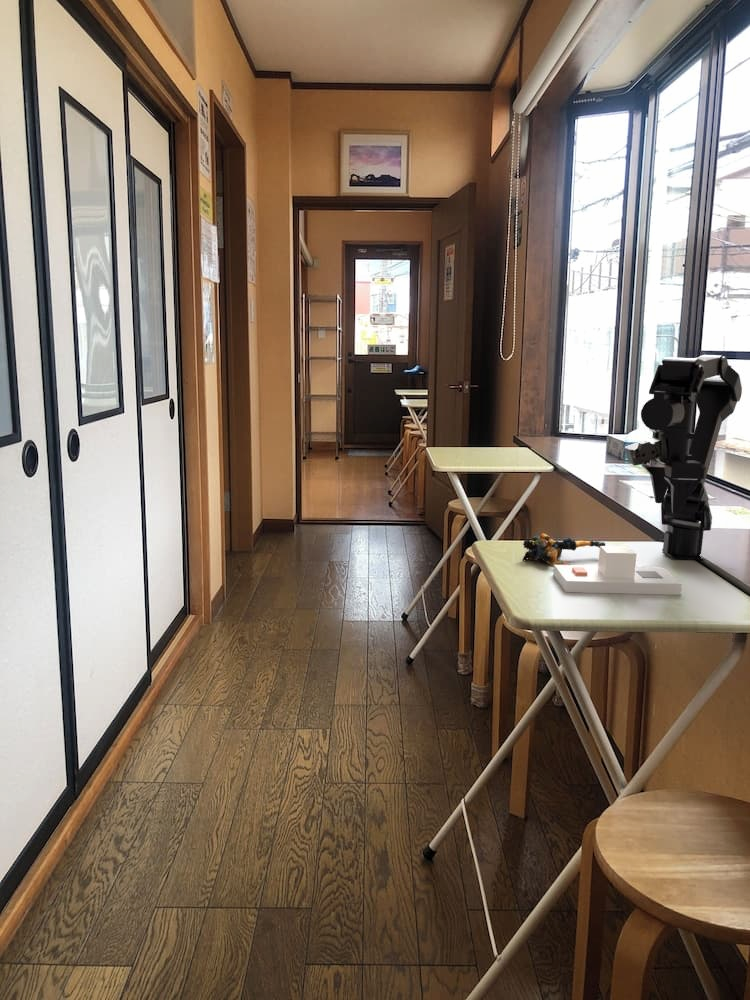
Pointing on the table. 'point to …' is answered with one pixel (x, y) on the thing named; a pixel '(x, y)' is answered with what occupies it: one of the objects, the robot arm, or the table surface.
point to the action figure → (553, 548)
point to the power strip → (616, 581)
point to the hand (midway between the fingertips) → (666, 508)
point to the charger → (617, 562)
